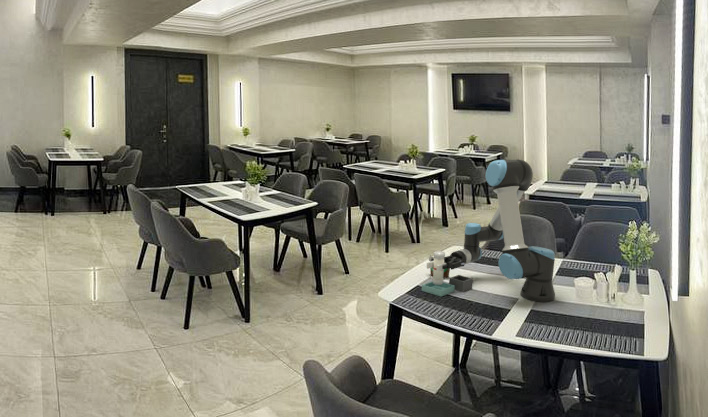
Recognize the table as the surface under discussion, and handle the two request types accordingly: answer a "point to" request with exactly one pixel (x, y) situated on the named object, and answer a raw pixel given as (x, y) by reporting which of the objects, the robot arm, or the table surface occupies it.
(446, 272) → the food container
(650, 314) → the table surface
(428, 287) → the parts tray
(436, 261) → the fuse
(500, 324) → the table surface
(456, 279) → the socket block
